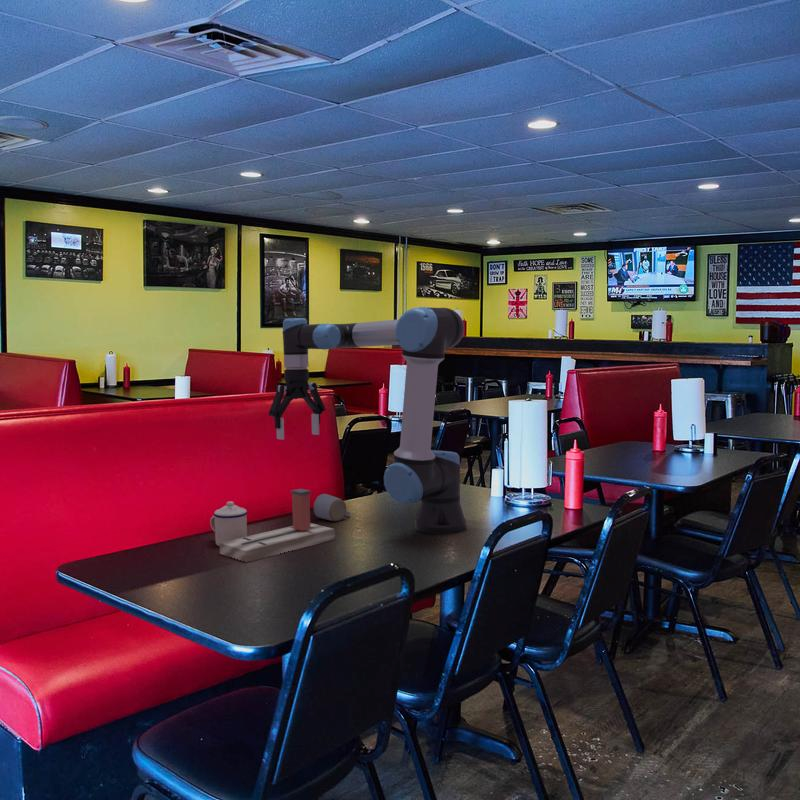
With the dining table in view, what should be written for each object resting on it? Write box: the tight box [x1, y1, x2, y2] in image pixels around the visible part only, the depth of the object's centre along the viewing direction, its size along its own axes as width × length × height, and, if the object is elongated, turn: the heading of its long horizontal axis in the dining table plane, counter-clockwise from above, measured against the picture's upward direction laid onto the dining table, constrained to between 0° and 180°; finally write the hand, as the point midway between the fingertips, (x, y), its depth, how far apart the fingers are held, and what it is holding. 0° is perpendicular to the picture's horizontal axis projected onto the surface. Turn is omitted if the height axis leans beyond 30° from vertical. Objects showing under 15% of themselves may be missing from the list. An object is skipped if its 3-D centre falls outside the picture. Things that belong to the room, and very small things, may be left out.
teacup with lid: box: [209, 501, 248, 547], centre depth 228 cm, size 12×9×12 cm
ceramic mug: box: [313, 493, 351, 522], centre depth 255 cm, size 11×8×8 cm
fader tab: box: [290, 488, 311, 531], centre depth 229 cm, size 4×3×11 cm
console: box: [219, 522, 336, 563], centre depth 224 cm, size 12×30×3 cm, turn 136°
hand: (298, 436), depth 255 cm, fingers open, 13 cm apart
